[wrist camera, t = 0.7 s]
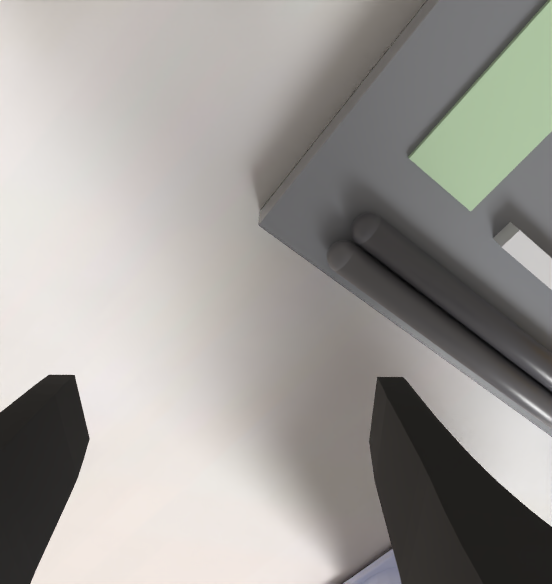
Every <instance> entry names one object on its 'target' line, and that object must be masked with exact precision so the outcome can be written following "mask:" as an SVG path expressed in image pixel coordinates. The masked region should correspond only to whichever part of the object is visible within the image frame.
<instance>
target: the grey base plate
mask: <svg viewBox="0 0 552 584" xmlns="http://www.w3.org/2000/svg"><path fill="white" fill-rule="evenodd" d="M258 225H259V226H260V227H262V228H263V229H264V230H266V231H267V232H268V233H270V234H271V235H273V236H274V237H275V238H277V239H278V240H280V241H281V242H282V243H284V244H285V245H287V246H288V247H289V248H291V249H292V250H293V251H295V252H296V253H298V254H299V255H300V256H302V257H303V258H305V259H306V260H307V261H309V262H310V263H311V264H313V265H314V266H316V267H317V268H318V269H320V270H321V271H323V272H324V273H325V274H327V275H328V276H330V277H331V278H332V279H334V280H335V281H336V282H338V283H339V284H341V285H342V286H343V287H345V288H346V289H348V290H349V291H350V292H352V293H353V294H354V295H356V296H357V297H359V298H360V299H361V300H363V301H364V302H366V303H367V304H368V305H370V306H371V307H373V308H374V309H375V310H377V311H378V312H379V313H381V314H382V315H384V316H385V317H386V318H388V319H389V320H391V321H392V322H393V323H395V324H396V325H397V326H399V327H400V328H402V329H403V330H404V331H406V332H407V333H409V334H410V335H411V336H413V337H414V338H416V339H417V340H418V341H420V342H421V343H422V344H424V345H425V346H427V347H428V348H429V349H431V350H432V351H434V352H435V353H436V354H438V355H439V356H440V357H442V358H443V359H445V360H446V361H447V362H449V363H450V364H452V365H453V366H454V367H456V368H457V369H459V370H460V371H461V372H463V373H464V374H465V375H467V376H468V377H470V378H471V379H472V380H474V381H475V382H477V383H478V384H479V385H481V386H482V387H483V388H485V389H486V390H488V391H489V392H490V393H492V394H493V395H495V396H496V397H497V398H499V399H500V400H502V401H503V402H504V403H506V404H507V405H508V406H510V407H511V408H513V409H514V410H515V411H517V412H518V413H520V414H521V415H522V416H524V417H525V418H526V419H528V420H529V421H531V422H532V423H533V424H535V425H536V426H538V427H539V428H540V429H542V430H543V431H545V432H546V433H547V434H549V435H550V436H551V437H552V0H427V1H426V2H425V4H424V5H423V6H422V7H421V9H420V10H419V11H418V12H417V14H416V15H415V16H414V17H413V19H412V20H411V21H410V22H409V24H408V25H407V26H406V28H405V29H404V30H403V31H402V33H401V34H400V35H399V36H398V38H397V39H396V40H395V41H394V43H393V44H392V45H391V46H390V48H389V49H388V50H387V51H386V53H385V54H384V55H383V57H382V58H381V59H380V60H379V62H378V63H377V64H376V65H375V67H374V68H373V69H372V70H371V72H370V73H369V74H368V75H367V77H366V78H365V79H364V80H363V82H362V83H361V84H360V85H359V87H358V88H357V89H356V91H355V92H354V93H353V94H352V96H351V97H350V98H349V99H348V101H347V102H346V103H345V104H344V106H343V107H342V108H341V109H340V111H339V112H338V113H337V114H336V116H335V117H334V118H333V120H332V121H331V122H330V123H329V125H328V126H327V127H326V128H325V130H324V131H323V132H322V133H321V135H320V136H319V137H318V138H317V140H316V141H315V142H314V143H313V145H312V146H311V147H310V148H309V150H308V151H307V152H306V154H305V155H304V156H303V157H302V159H301V160H300V161H299V162H298V164H297V165H296V166H295V167H294V169H293V170H292V171H291V172H290V174H289V175H288V176H287V177H286V179H285V180H284V181H283V183H282V184H281V185H280V186H279V188H278V189H277V190H276V191H275V193H274V194H273V195H272V196H271V198H270V199H269V200H268V201H267V203H266V204H265V205H264V206H263V208H262V209H261V210H260V214H259V224H258Z"/></svg>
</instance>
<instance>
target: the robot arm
mask: <svg viewBox="0 0 552 584" xmlns="http://www.w3.org/2000/svg"><path fill="white" fill-rule="evenodd" d="M88 442H89V435H88V430H87V426H86V422H85V418H84V413H83V409H82V405H81V401H80V396H79V392H78V388H77V384H76V379H75V375H48V376H47V377H45V378H44V379H43V380H41V381H40V382H39V383H37V384H36V385H35V386H33V387H32V388H31V389H29V390H28V391H27V392H26V393H24V394H23V395H22V396H21V397H19V398H18V399H17V400H16V401H14V402H13V403H12V404H11V405H9V406H8V407H7V408H5V409H4V410H3V411H2V412H0V584H30V583H31V581H32V578H33V576H34V573H35V571H36V569H37V566H38V564H39V562H40V560H41V558H42V555H43V553H44V551H45V549H46V547H47V545H48V542H49V540H50V538H51V536H52V534H53V532H54V529H55V527H56V525H57V523H58V521H59V518H60V516H61V514H62V512H63V510H64V508H65V505H66V503H67V501H68V499H69V496H70V494H71V492H72V490H73V487H74V485H75V483H76V481H77V478H78V475H79V472H80V469H81V466H82V463H83V460H84V456H85V453H86V449H87V446H88ZM369 443H370V450H371V458H372V465H373V472H374V478H375V483H376V487H377V491H378V495H379V499H380V503H381V507H382V510H383V514H384V518H385V522H386V526H387V529H388V533H389V537H390V541H391V544H392V549H391V550H390V551H388V552H387V553H385V554H384V555H383V556H381V557H380V558H378V559H377V560H376V561H374V562H373V563H371V564H370V565H369V566H367V567H366V568H364V569H363V570H362V571H360V572H359V573H357V574H356V575H354V576H353V577H352V578H350V579H349V580H347V581H346V582H345V583H343V584H552V527H551V526H550V525H549V524H547V523H546V522H545V521H543V520H542V519H541V518H540V517H538V516H537V515H536V514H535V513H533V512H532V511H531V510H530V509H528V508H527V507H526V506H525V505H524V504H523V503H521V502H520V501H519V500H518V499H517V498H516V497H514V496H513V495H512V494H511V493H510V492H509V491H507V490H506V489H505V488H504V487H503V486H502V485H501V484H499V483H498V482H497V481H496V480H495V479H494V478H493V477H492V476H491V475H490V474H489V473H488V472H487V471H486V470H485V469H484V468H483V467H482V466H481V465H480V464H479V463H478V462H477V461H476V460H475V459H474V458H473V457H472V456H471V455H470V454H469V453H468V452H467V451H466V450H465V449H464V448H463V447H462V446H461V445H460V443H459V442H458V441H457V440H456V439H455V438H454V437H453V436H452V435H451V433H450V432H449V431H448V430H447V429H446V428H445V427H444V426H443V425H442V423H441V422H440V421H439V420H438V419H437V418H436V416H435V415H434V414H433V413H432V412H431V410H430V409H429V408H428V407H427V406H426V404H425V403H424V402H423V401H422V399H421V398H420V397H419V396H418V395H417V393H416V392H415V391H414V390H413V388H412V387H411V386H410V385H409V383H408V382H407V381H406V380H405V379H404V378H403V377H377V384H376V392H375V399H374V407H373V415H372V423H371V431H370V439H369Z"/></svg>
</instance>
